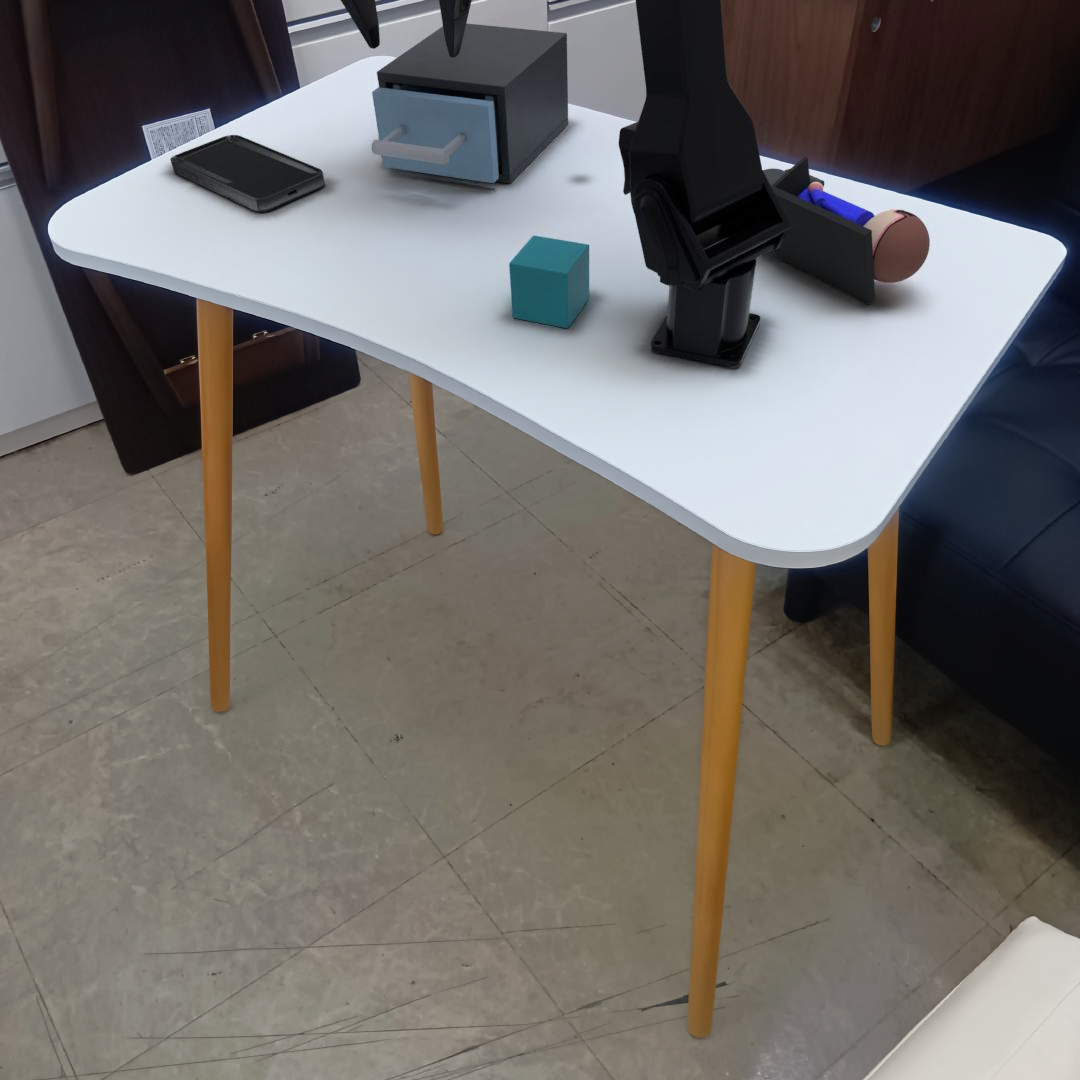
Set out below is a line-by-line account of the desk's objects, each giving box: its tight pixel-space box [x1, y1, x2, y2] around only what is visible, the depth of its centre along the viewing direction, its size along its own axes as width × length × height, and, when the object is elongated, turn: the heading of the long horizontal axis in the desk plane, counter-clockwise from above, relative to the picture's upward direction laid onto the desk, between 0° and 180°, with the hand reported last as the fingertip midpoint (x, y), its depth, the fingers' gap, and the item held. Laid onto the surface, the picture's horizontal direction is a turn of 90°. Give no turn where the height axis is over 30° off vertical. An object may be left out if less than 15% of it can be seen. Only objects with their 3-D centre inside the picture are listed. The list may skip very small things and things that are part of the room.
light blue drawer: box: [371, 83, 501, 184], centre depth 89 cm, size 18×11×7 cm, turn 157°
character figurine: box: [762, 156, 931, 306], centre depth 73 cm, size 8×7×15 cm
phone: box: [170, 134, 325, 213], centre depth 91 cm, size 8×1×15 cm
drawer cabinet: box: [376, 23, 569, 185], centre depth 93 cm, size 15×13×9 cm
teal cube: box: [508, 235, 590, 329], centre depth 72 cm, size 4×4×4 cm
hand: (414, 51), depth 80 cm, fingers open, 7 cm apart
